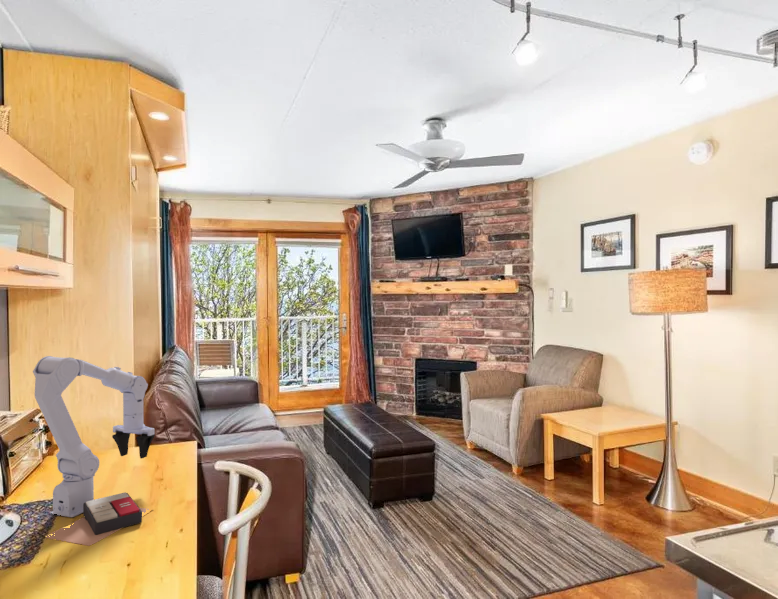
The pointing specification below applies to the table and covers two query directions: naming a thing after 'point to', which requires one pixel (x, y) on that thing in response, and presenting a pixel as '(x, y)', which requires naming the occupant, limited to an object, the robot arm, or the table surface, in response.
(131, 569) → the table surface
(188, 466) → the table surface
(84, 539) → the mat
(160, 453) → the table surface
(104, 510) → the black white red box
